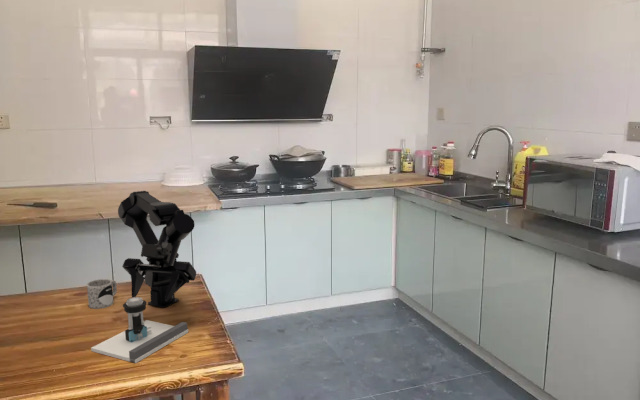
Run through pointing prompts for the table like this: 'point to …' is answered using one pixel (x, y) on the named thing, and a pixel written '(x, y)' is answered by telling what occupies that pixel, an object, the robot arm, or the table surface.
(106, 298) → the mug
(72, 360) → the table surface
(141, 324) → the push button
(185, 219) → the robot arm
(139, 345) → the marker board
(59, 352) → the table surface
